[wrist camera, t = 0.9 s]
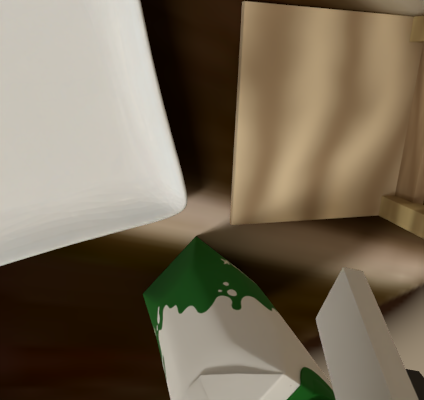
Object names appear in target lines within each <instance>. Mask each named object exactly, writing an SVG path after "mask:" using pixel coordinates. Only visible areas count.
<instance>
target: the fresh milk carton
mask: <svg viewBox="0 0 424 400" xmlns="http://www.w3.org/2000/svg"><path fill="white" fill-rule="evenodd" d="M143 296H144V299H145V302H146V305H147V309H148V312H149V315H150V318H151V322H152V325H153V328H154V331H155V334H156V338H157V341H158V346H159V350H160V354H161V359H162V363H163V367H164V372H165V376H166V381H167V385H168V389H169V394H170V398H171V400H336V399H335V395H334V391H333V387H332V383H331V382H330V381H329V380H328V378H327V377H326V376H325V374H324V373H323V372H322V370H321V369H320V368H319V366H318V365H317V364H316V362H315V361H314V360H313V358H312V357H311V356H310V354H309V353H308V352H307V350H306V349H305V348H304V346H303V345H302V344H301V342H300V341H299V340H298V338H297V337H296V336H295V334H294V333H293V332H292V330H291V329H290V328H289V326H288V325H287V323H286V322H285V321H284V319H283V318H282V317H281V315H280V314H279V313H278V311H277V310H276V309H275V307H274V306H273V305H272V303H271V302H270V301H269V299H268V298H267V297H266V295H265V294H264V293H263V292H262V290H261V289H260V288H259V287H258V285H257V284H256V283H255V282H253V281H252V280H251V279H250V278H249V277H248V276H246V275H245V274H244V273H243V272H242V271H240V270H239V269H238V268H237V267H235V266H234V265H233V264H231V263H230V262H229V261H227V260H226V259H225V258H224V257H222V256H221V255H220V254H218V253H217V252H216V251H215V250H213V249H212V248H211V247H209V246H208V245H207V244H206V243H204V242H203V241H202V240H200V239H199V238H198V237H197V236H196V237H195V238H194V239H193V240H192V241H191V242H190V243H189V244H188V246H187V247H186V248H185V249H184V250H183V251H182V252H181V253H180V254H179V255H178V256H177V257H176V259H175V260H174V261H173V262H172V263H171V264H170V265H169V266H168V267H167V268H166V269H165V270H164V271H163V273H162V274H161V275H160V276H159V277H158V278H157V279H156V280H155V281H154V282H153V283H152V284H151V286H150V287H149V288H148V289H147V290H146V291H145V292H144V293H143Z"/></svg>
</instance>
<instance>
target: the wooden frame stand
mask: <svg viewBox="0 0 424 400" xmlns="http://www.w3.org/2000/svg"><path fill="white" fill-rule="evenodd" d="M423 201H424V15H422V16H415V17H411V16H400V15H389V14H379V13H368V12H357V11H346V10H335V9H325V8H314V7H303V6H292V5H281V4H271V3H260V2H249V1H244V2H242V15H241V33H240V51H239V68H238V86H237V104H236V122H235V140H234V158H233V176H232V194H231V212H230V224H231V225H244V224H259V223H273V222H288V221H303V220H317V219H332V218H347V217H361V216H376V215H379V216H381V217H383V218H385V219H387V220H388V221H390V222H392V223H394V224H396V225H398V226H400V227H402V228H404V229H406V230H408V231H410V232H412V233H413V234H415V235H417V236H419V237H421V238H423V239H424V205H423Z"/></svg>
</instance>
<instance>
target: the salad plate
mask: <svg viewBox="0 0 424 400" xmlns="http://www.w3.org/2000/svg"><path fill="white" fill-rule="evenodd" d="M186 205H187V192H186V187H185V182H184V178H183V174H182V170H181V166H180V163H179V159H178V155H177V151H176V148H175V144H174V141H173V137H172V134H171V130H170V126H169V122H168V118H167V115H166V111H165V107H164V104H163V100H162V96H161V92H160V87H159V83H158V79H157V75H156V71H155V67H154V62H153V58H152V54H151V49H150V44H149V39H148V34H147V30H146V25H145V20H144V16H143V11H142V6H141V1H140V0H0V266H2V265H5V264H8V263H12V262H15V261H18V260H22V259H25V258H28V257H31V256H35V255H38V254H41V253H45V252H48V251H51V250H55V249H58V248H61V247H65V246H68V245H71V244H75V243H79V242H82V241H86V240H90V239H94V238H97V237H101V236H105V235H108V234H112V233H116V232H120V231H123V230H127V229H131V228H134V227H138V226H142V225H146V224H150V223H153V222H157V221H160V220H163V219H166V218H169V217H172V216H174V215H176V214H178V213H180V212H181V211H183V210H184V209H185V207H186Z"/></svg>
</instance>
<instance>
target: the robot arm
mask: <svg viewBox="0 0 424 400" xmlns="http://www.w3.org/2000/svg"><path fill="white" fill-rule="evenodd" d="M316 322H317V326H318V330H319V334H320V338H321V342H322V346H323V351H324V355H325V359H326V362H327V367H328V371H329V375H330V379H331V383H332V387H333V391H334V395H335V399H336V400H424V377H423V376H422V375H421V374H420V372H419V371H414V370H408V369H405V367H404V365H403V362H402V360H401V358H400V355H399V353H398V351H397V348H396V346H395V344H394V342H393V339H392V337H391V335H390V332H389V330H388V328H387V325H386V323H385V321H384V318H383V316H382V314H381V312H380V309H379V307H378V305H377V302H376V300H375V298H374V295H373V293H372V291H371V288H370V286H369V284H368V282H367V279H366V277H365V275H364V272H363V271H360V270H355V269H350V268H345V267H343V268H342V270H341V272H340V274H339V276H338V277H337V279H336V281H335V283H334V285H333V287H332V289H331V291H330V292H329V294H328V296H327V298H326V300H325V302H324V304H323V306H322V308H321V309H320V311H319V313H318V315H317V317H316Z"/></svg>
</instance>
